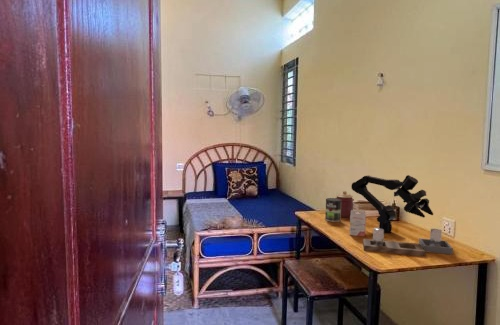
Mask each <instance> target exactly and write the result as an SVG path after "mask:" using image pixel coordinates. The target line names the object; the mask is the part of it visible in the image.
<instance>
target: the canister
mask: <svg viewBox="0 0 500 325" xmlns="http://www.w3.org/2000/svg"><path fill="white" fill-rule="evenodd" d="M335 198H337V199H341V200H342V201H341V218H350V215H351V210H354V201H355V200H354V196H353V195H352V194H351V193H347V191H346V190H343V191H342V192H341V193H337V194H336V197H335Z"/></svg>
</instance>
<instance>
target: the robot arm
mask: <svg viewBox="0 0 500 325" xmlns="http://www.w3.org/2000/svg"><path fill="white" fill-rule="evenodd" d="M418 183H419V181H418V179H417V178H415V177H413V176H411V175H409V174H408V175H406V176H405V178H404V179H403V181H401V180H399V179H386V178H381V177H377V176H376V177H375V176H372V175H364V176H363V177H361V178H360V179H358V180H357V181H354V182H352V183H351V190H352V191H354V192H355V193H356V194H357V195H358V194H359V195H361V196H362V197H363V198H364V199H365V200H366V201H367V202H368V203H370V205H371V206H372V207H374V208H375V209H376V210H377V212H378V216H377V217H376V221H377V223H378V228H382V229H384V234H391V233H392V230H393V229H392V228H393V227H392V226H393V225H392V222H393V220H394V219H395V218H396V214H397V213H396V211H395V209H394V208H392V207H391V206H390V204H389V205H384V204H383V203H382V202H381V200H379V199H378V198H377V197H376V196H374V195H373V194H372V192H370V191H369V190H368V187H367V186H368V184H373V185H378V186H382V187H384V188H386V189H388V190H390V191H394V192H393V197H394V198H395V197H400V198H401V199H402V202H403V203H404V204H405V203H406V204H405V205H404V206H403V210H404V211H405V212H406V213H408V214H412V215H415V216H419V217H420V218H425V217H426V216H425V214H424V213H427V215H431V216H433V215H434V212H433V211H432V209H431V208H430V206H429V204H430V200H429V199H428V198H424V197H425V196H427V191H425V190H424V189H420V190H418V191H416V192H415V193H412V192H410V191H412V190H413V189H414V188H415V187H416V186H417V185H418ZM423 212H424V213H423Z"/></svg>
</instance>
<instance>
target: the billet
mask: <svg viewBox="0 0 500 325" xmlns="http://www.w3.org/2000/svg"><path fill="white" fill-rule="evenodd" d="M372 230H373V231H372V240H373V245H377V246H383V241H384V236H385V235H384V234H385V233H384V229H382V228H379V227H373V229H372Z"/></svg>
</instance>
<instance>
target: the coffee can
mask: <svg viewBox="0 0 500 325" xmlns="http://www.w3.org/2000/svg"><path fill="white" fill-rule="evenodd" d="M341 201H342V200H341V199H337V198H336V197H335V198H334V197H326V198H325V215H324V216H325V217H324V220H325V221H327V222H331V223H332V222H337V223H338V222H340V221H341V218H342V217H341Z"/></svg>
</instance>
